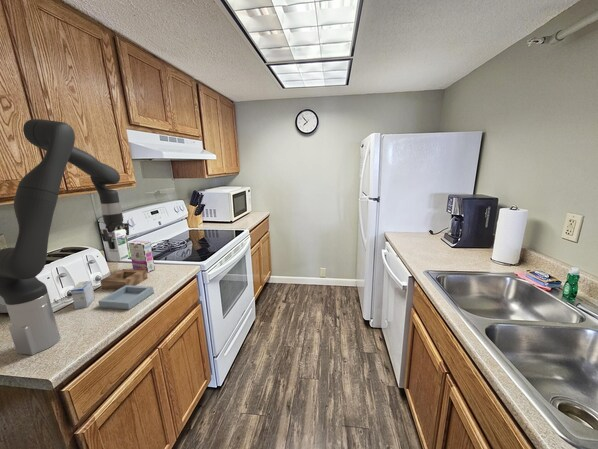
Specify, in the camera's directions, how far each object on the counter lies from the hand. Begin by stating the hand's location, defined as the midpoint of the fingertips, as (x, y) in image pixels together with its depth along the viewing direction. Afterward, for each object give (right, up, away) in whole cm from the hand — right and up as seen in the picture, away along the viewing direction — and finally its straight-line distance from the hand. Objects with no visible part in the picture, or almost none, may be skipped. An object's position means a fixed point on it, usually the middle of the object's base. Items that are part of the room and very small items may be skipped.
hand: (118, 246), depth 121 cm
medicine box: (-5, -23, -13) cm, 27 cm away
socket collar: (0, -19, +5) cm, 19 cm away
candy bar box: (0, -15, +20) cm, 25 cm away
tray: (+12, -22, -11) cm, 28 cm away
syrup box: (0, -6, +1) cm, 6 cm away
